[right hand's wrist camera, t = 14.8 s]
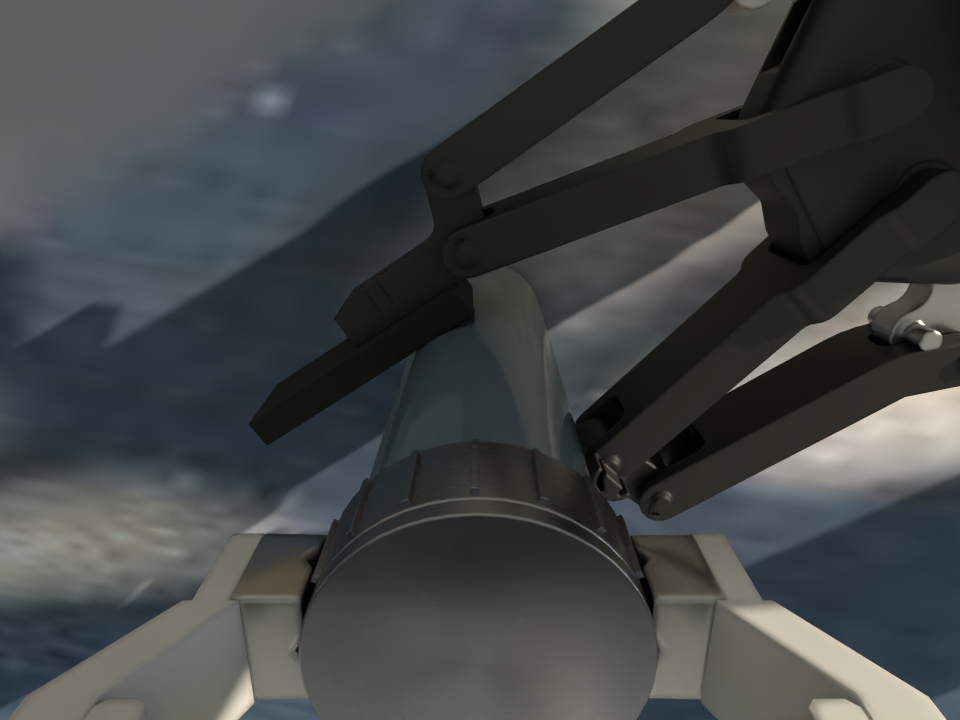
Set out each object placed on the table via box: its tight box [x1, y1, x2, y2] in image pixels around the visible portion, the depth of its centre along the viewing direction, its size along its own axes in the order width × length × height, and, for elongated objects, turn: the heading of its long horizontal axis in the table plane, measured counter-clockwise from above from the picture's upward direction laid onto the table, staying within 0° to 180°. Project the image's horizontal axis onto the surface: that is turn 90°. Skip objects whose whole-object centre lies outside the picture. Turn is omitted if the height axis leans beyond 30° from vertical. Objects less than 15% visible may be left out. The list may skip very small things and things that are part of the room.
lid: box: [298, 439, 658, 720], centre depth 10 cm, size 5×5×2 cm
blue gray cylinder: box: [369, 266, 590, 480], centre depth 17 cm, size 4×4×16 cm
